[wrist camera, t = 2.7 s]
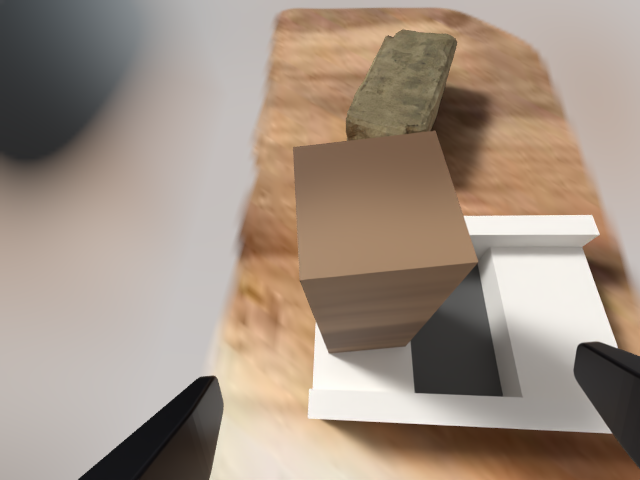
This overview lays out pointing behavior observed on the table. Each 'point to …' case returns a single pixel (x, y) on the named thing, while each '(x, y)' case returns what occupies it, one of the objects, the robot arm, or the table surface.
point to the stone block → (402, 86)
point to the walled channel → (486, 340)
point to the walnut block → (378, 237)
